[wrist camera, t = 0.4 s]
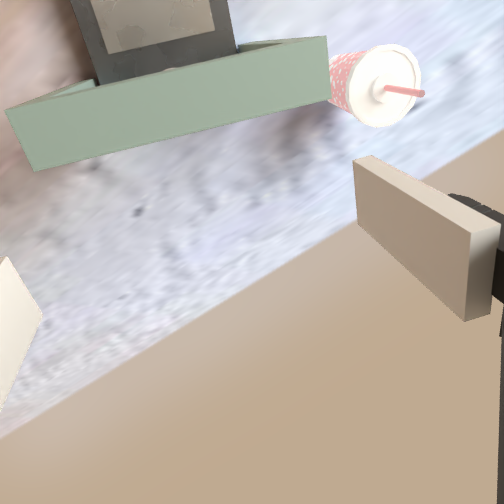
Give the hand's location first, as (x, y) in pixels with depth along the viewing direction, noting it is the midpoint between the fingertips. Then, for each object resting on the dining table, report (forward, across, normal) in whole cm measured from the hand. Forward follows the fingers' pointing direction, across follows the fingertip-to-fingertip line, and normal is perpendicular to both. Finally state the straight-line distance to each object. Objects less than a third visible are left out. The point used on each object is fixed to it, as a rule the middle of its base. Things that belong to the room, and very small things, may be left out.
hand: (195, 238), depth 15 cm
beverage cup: (+26, +17, 0) cm, 31 cm away
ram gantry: (+26, +1, +4) cm, 26 cm away
